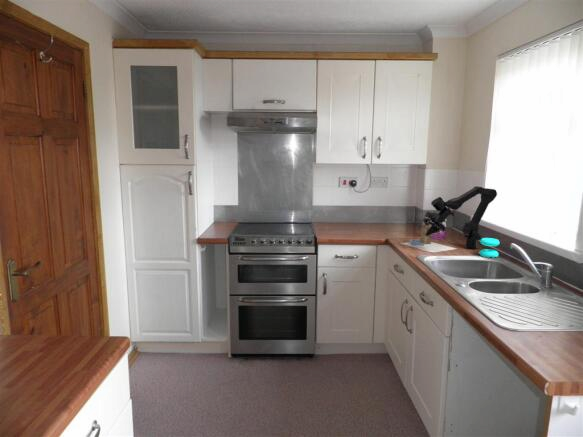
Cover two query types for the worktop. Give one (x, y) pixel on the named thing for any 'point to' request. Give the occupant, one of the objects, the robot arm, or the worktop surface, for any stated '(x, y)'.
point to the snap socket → (416, 242)
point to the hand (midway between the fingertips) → (424, 234)
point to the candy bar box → (440, 233)
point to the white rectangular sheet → (431, 247)
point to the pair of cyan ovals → (488, 251)
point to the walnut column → (425, 238)
